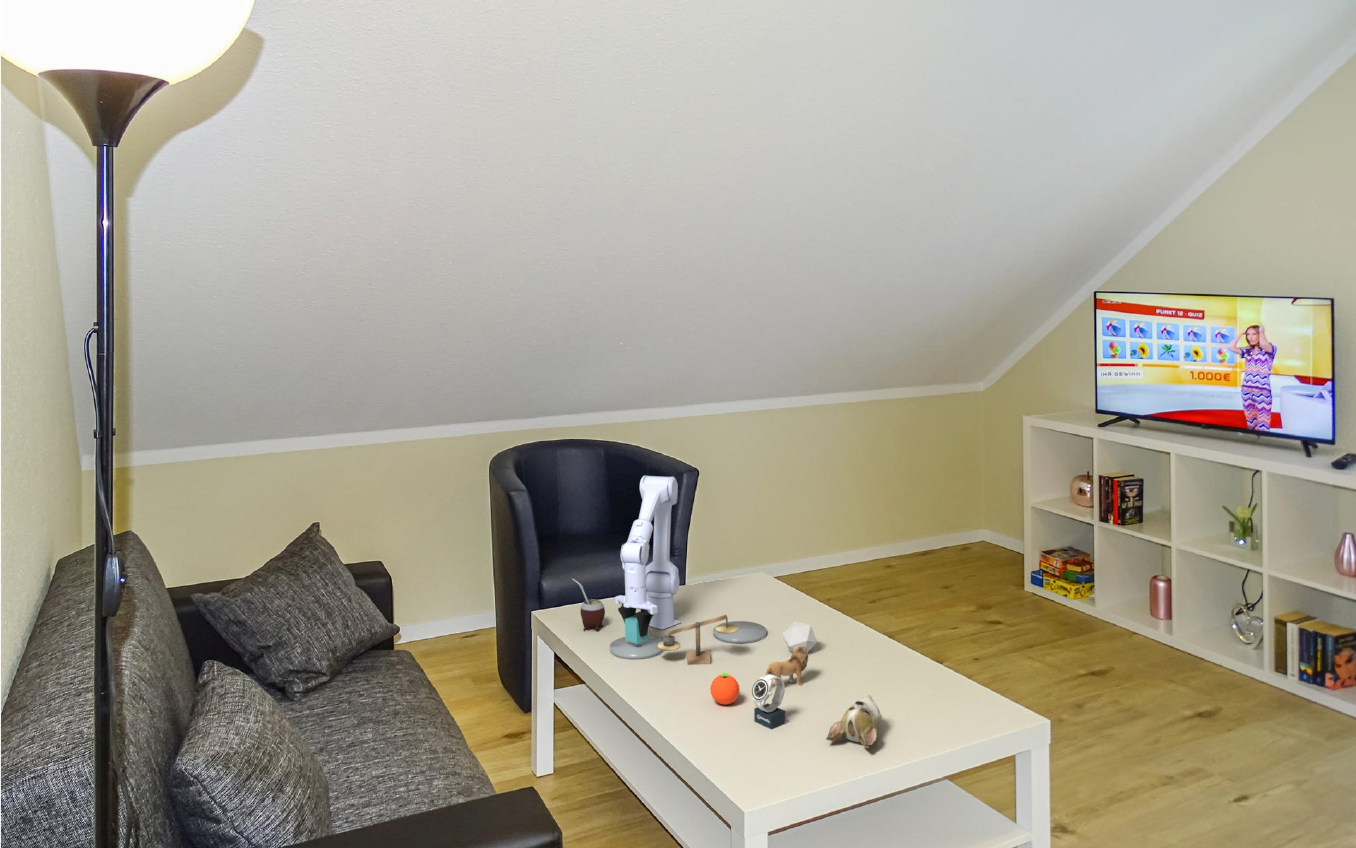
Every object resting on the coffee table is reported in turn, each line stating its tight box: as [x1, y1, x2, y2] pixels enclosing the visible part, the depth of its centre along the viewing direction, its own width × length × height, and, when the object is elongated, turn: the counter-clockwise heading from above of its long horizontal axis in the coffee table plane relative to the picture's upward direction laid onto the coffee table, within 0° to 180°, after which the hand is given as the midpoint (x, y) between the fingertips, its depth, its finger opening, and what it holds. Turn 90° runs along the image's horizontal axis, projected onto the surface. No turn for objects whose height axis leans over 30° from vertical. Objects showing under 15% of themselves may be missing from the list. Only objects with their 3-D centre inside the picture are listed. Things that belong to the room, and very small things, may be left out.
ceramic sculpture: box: [826, 694, 883, 749], centre depth 222 cm, size 11×9×15 cm
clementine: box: [709, 672, 740, 705], centre depth 242 cm, size 8×7×7 cm
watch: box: [751, 674, 786, 730], centre depth 230 cm, size 6×8×11 cm
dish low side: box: [609, 635, 665, 660], centre depth 278 cm, size 15×15×1 cm
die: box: [782, 620, 818, 653], centre depth 274 cm, size 8×9×10 cm
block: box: [624, 615, 650, 644], centre depth 278 cm, size 4×4×6 cm
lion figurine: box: [765, 645, 809, 688], centre depth 251 cm, size 15×5×9 cm, turn 129°
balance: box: [658, 614, 738, 665], centre depth 269 cm, size 21×6×12 cm, turn 92°
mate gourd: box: [571, 578, 606, 633], centre depth 295 cm, size 8×8×15 cm
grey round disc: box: [712, 620, 767, 645], centre depth 288 cm, size 15×15×1 cm
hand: (636, 633), depth 278 cm, fingers closed on block, 4 cm apart
